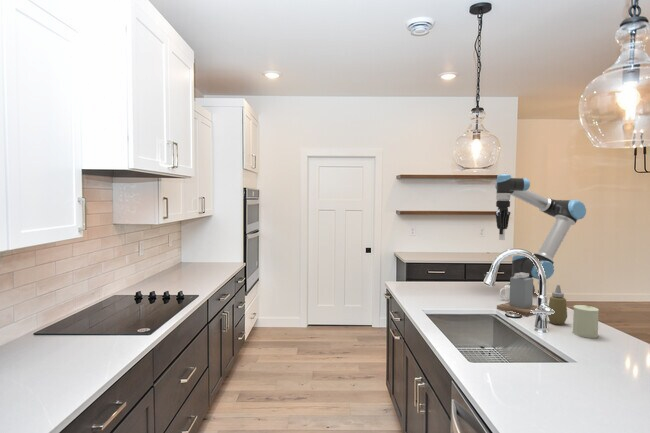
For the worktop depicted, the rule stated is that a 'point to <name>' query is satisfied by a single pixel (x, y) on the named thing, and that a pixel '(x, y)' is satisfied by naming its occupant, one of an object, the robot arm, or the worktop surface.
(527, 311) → the walnut caddy
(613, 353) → the worktop surface
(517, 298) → the soap dispenser
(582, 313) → the can
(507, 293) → the cup
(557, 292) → the squeeze bottle
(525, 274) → the pump head
